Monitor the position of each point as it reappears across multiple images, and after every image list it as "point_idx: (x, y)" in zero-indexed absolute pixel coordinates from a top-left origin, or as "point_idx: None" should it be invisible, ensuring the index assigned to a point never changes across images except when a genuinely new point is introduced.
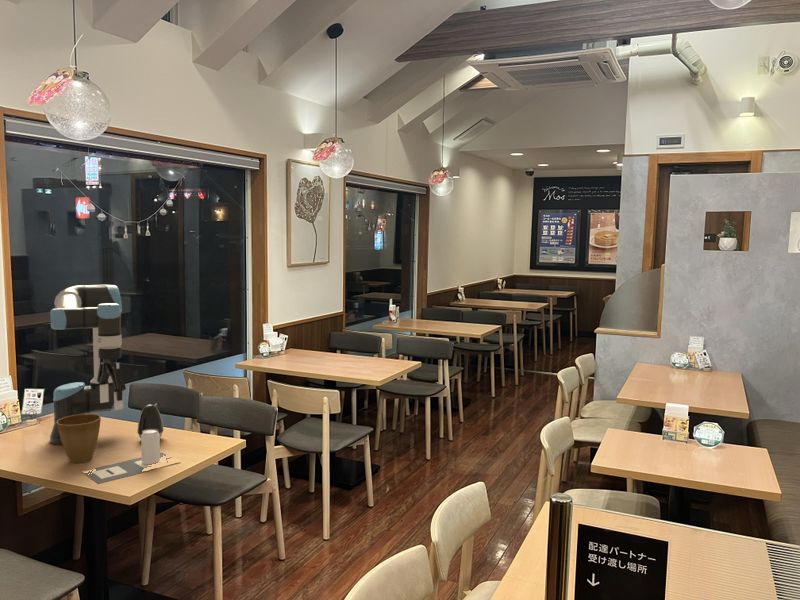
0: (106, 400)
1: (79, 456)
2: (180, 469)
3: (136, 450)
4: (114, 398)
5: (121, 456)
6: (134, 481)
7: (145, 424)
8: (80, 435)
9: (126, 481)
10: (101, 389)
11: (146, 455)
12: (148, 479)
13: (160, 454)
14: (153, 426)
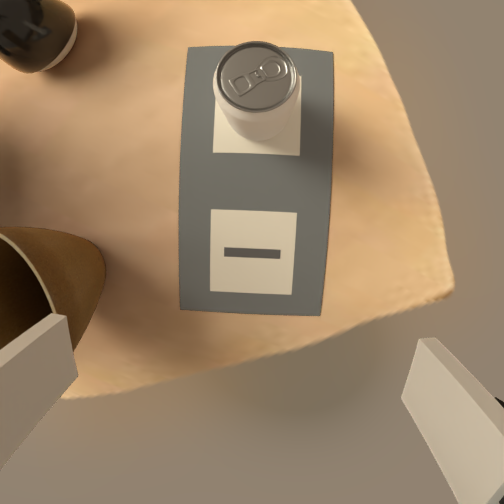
0: (62, 341)
1: (101, 291)
2: (386, 86)
3: (106, 102)
4: (445, 466)
5: (125, 160)
6: (382, 233)
7: (35, 44)
8: (81, 326)
9: (365, 249)
10: (11, 446)
11: (278, 129)
12: (397, 196)
13: (204, 57)
14: (56, 23)
